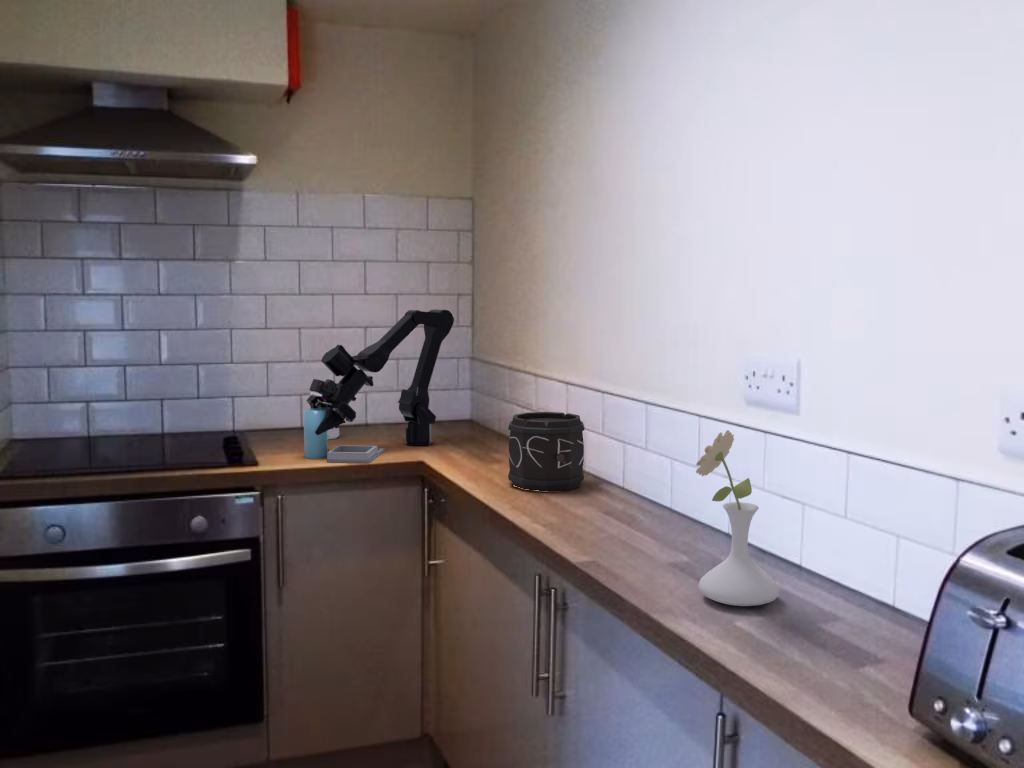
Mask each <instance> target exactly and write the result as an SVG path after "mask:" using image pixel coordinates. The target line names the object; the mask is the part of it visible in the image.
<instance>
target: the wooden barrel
mask: <svg viewBox="0 0 1024 768" xmlns="http://www.w3.org/2000/svg"><path fill="white" fill-rule="evenodd" d="M507 430H508V431H509V441H508V465H509V471H508V475H507V478H508V481H510V482H511V483H512V484H511V485H512V486H513V485H515V486H517V487H520V488H523V489H529V490H539V491H562V492H568V491H573V490H575V489H578V488H580V487H581V484H582V483H581V482H583V481H584V480H585V474H584V464H585V463H584V461H585V443H584V442H585V441H584V433H583V431H585V425H584V421H581V417H580V415H579V414H574V413H569V412H568V413H565V412H558V411H557V412H556V411H534V412H532V411H531V412H523V413H522V412H521V413H516V414H514V415H513V416H512V419H511V420H510V421H509V423H508V427H507Z"/></svg>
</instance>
